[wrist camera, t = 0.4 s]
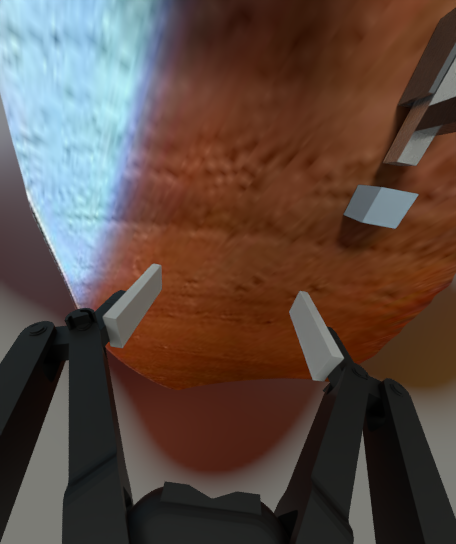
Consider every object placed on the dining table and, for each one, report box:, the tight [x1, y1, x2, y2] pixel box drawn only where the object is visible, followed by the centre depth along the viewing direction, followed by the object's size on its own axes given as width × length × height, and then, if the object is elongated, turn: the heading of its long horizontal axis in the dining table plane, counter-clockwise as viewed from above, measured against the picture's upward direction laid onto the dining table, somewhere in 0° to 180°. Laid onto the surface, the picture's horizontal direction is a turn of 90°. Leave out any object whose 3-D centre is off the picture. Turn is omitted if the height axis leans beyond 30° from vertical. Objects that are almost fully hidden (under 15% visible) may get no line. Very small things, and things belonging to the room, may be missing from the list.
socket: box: [344, 185, 419, 229], centre depth 33 cm, size 6×7×7 cm
